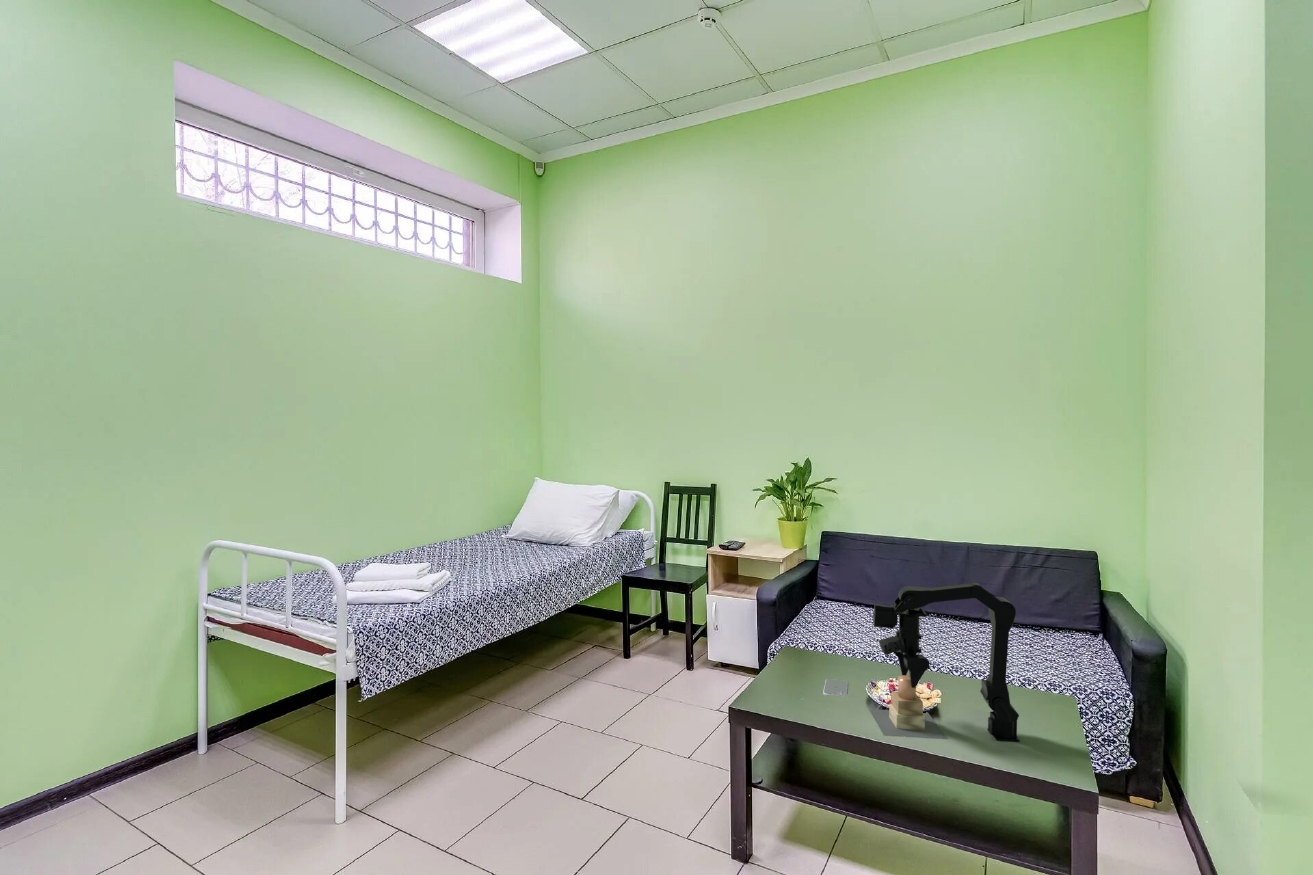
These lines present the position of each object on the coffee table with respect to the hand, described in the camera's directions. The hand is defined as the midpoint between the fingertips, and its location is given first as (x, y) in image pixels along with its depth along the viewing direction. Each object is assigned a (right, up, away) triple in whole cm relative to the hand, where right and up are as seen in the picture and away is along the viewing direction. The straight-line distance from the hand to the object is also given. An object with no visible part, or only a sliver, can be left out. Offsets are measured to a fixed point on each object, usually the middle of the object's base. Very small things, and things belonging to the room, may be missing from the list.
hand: (908, 681), depth 188 cm
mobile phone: (-14, -14, +27) cm, 34 cm away
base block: (-1, -13, 0) cm, 13 cm away
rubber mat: (-1, -13, 0) cm, 13 cm away
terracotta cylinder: (0, -5, 0) cm, 5 cm away
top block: (-1, -9, 0) cm, 9 cm away
